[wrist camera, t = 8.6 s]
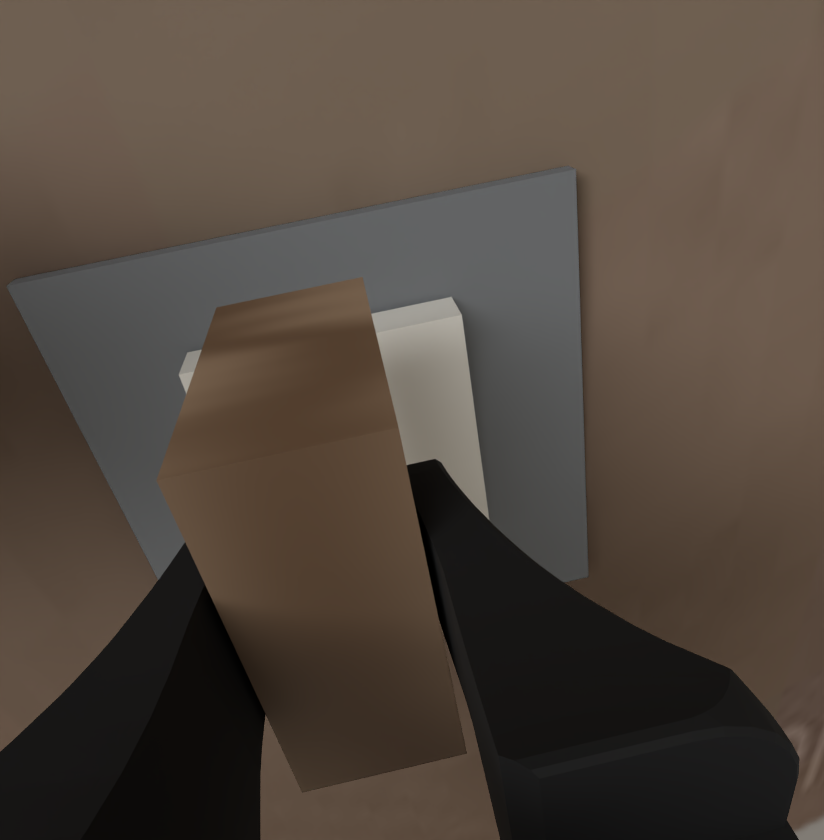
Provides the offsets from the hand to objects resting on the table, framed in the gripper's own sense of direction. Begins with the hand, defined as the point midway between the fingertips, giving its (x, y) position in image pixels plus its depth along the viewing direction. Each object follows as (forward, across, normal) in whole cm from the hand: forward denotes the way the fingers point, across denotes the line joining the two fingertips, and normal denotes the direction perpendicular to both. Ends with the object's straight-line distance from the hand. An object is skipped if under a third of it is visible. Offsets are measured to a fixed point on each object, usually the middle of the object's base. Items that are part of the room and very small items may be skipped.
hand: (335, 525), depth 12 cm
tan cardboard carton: (+3, 0, 0) cm, 3 cm away
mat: (+9, 0, +4) cm, 10 cm away
